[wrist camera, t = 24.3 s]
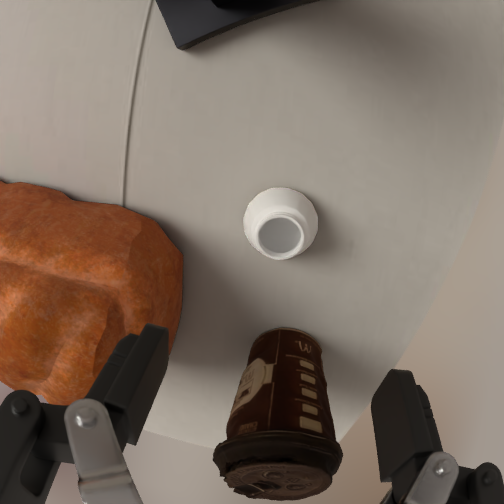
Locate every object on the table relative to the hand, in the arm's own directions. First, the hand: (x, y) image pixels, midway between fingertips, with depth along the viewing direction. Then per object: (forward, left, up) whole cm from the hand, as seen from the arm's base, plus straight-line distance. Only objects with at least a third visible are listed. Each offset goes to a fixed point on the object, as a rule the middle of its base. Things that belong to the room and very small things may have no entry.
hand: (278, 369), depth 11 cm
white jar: (0, 0, -14) cm, 14 cm away
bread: (+22, +8, -14) cm, 27 cm away
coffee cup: (-3, +12, -14) cm, 18 cm away
